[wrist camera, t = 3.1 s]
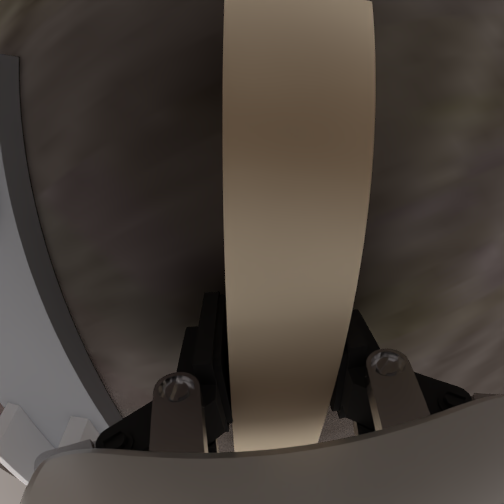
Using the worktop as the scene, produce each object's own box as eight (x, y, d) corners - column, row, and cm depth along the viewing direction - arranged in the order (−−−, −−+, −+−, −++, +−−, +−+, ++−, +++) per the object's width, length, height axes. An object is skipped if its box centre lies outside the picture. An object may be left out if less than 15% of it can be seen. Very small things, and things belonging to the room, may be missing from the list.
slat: (230, 41, 8) (224, -14, 4) (320, 45, 9) (371, 1, 4) (237, 442, 16) (239, 505, 12) (287, 440, 16) (295, 502, 12)
